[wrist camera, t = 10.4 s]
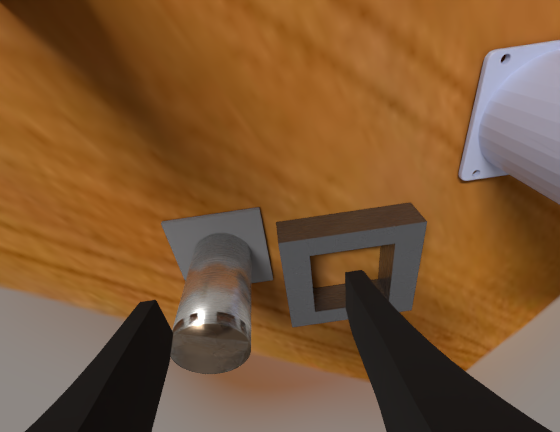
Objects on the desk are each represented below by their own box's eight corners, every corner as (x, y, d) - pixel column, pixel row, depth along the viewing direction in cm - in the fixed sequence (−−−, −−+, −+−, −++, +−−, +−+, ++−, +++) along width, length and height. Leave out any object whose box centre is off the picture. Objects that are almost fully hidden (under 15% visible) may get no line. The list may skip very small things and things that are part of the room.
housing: (410, 202, 22) (427, 221, 20) (399, 287, 27) (411, 310, 25) (276, 222, 22) (278, 243, 20) (289, 303, 27) (292, 327, 25)
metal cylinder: (250, 232, 22) (249, 321, 15) (252, 276, 24) (252, 371, 18) (189, 233, 22) (160, 326, 15) (197, 278, 24) (175, 376, 17)
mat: (259, 207, 21) (259, 209, 21) (272, 277, 25) (273, 280, 25) (162, 221, 21) (161, 223, 21) (190, 289, 25) (190, 292, 25)
